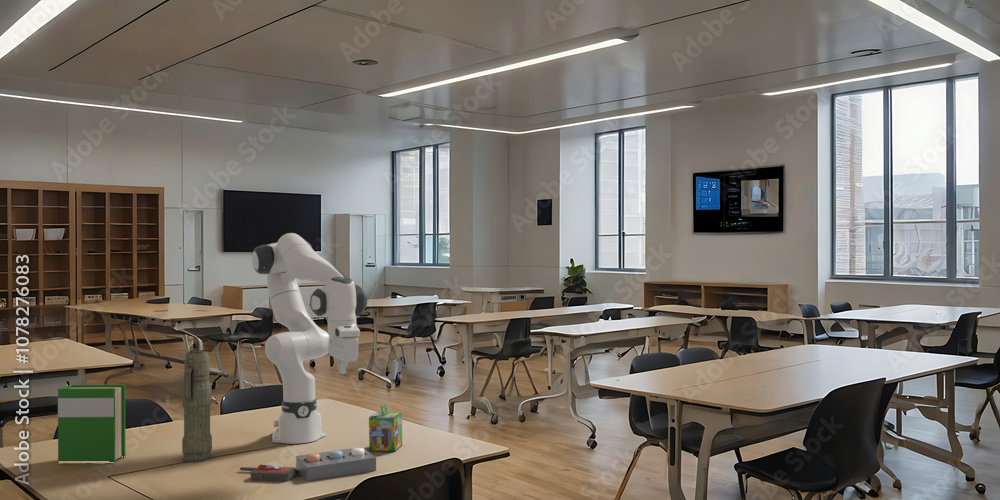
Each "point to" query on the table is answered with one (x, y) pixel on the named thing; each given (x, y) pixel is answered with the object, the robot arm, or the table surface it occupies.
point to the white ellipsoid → (357, 451)
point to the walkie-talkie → (271, 472)
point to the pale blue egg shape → (335, 454)
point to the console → (335, 465)
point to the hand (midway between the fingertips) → (342, 373)
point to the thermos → (196, 407)
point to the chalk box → (385, 431)
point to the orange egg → (312, 457)
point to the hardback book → (91, 422)
